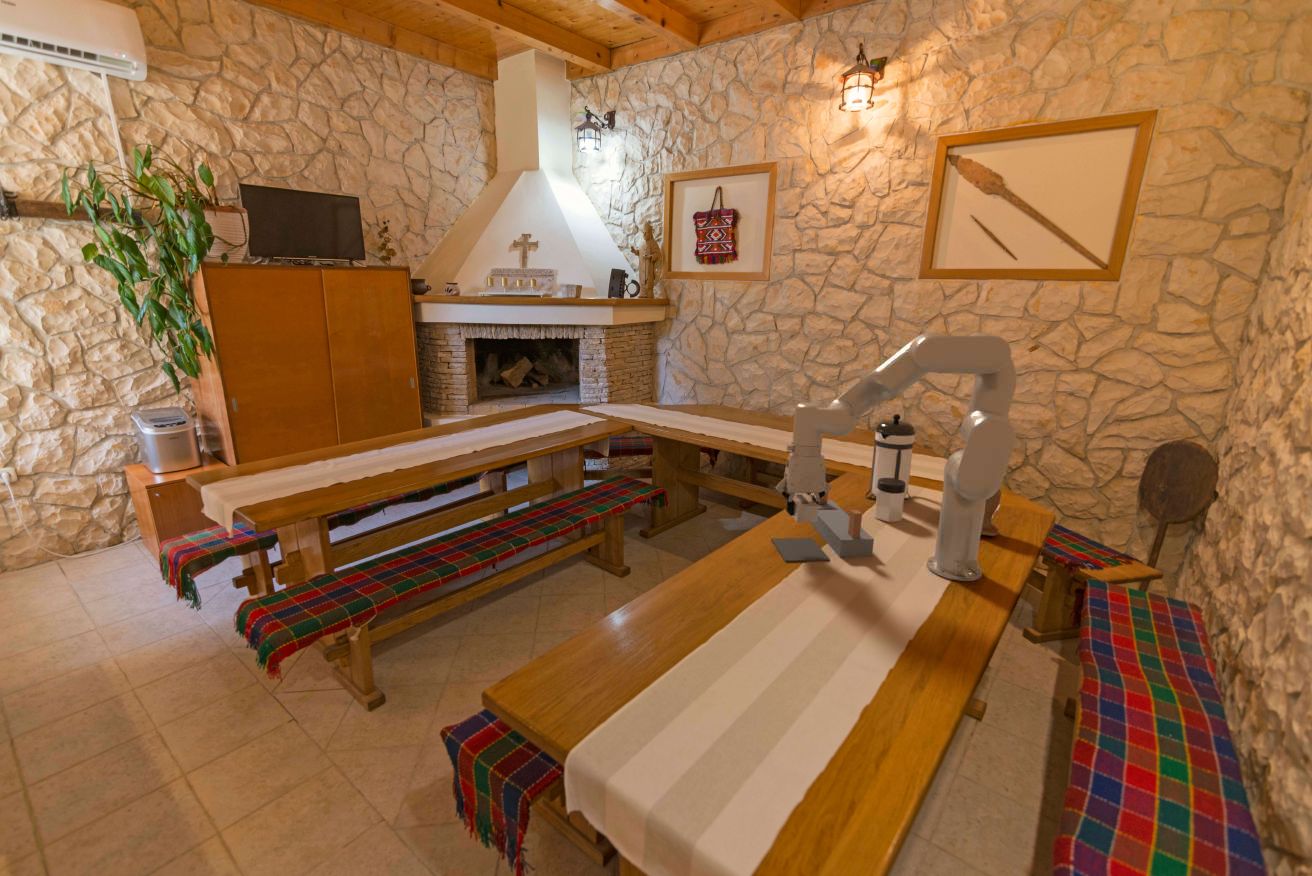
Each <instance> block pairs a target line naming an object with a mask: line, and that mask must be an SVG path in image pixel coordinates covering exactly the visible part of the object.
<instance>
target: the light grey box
mask: <svg viewBox="0 0 1312 876" xmlns="http://www.w3.org/2000/svg"><path fill="white" fill-rule="evenodd" d="M785 499H786V498H785ZM786 501H787V499H786ZM793 502H794V510H793V516H791V517H792V518H793V519H794V520H795V521H796V523H810V522H817V520H818V509H819V506H818V505H817V504H816V502H815V501H814V500H813V499H812V496H810V495H809V493H795V496H794V498H793Z"/></svg>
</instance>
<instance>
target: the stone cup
mask: <svg viewBox="0 0 1312 876" xmlns="http://www.w3.org/2000/svg"><path fill="white" fill-rule="evenodd" d="M1001 497H1002V491H1001V489H1000V488H999V489H998V491H997V492H996V493H995V494H994V495H993V496H992V497H990V498H989V499H986V504H985V512H984V517H983V524H982V530H981V535H982V536H991V537H994V536H995V537H996V536H997V535H999V529H998V528H997V526H995V525H994V524H993V523H992V518H993V515H994V513H995V512H996V511H997V509H998V507H999V504H1000V500H1001Z"/></svg>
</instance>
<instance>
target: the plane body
mask: <svg viewBox="0 0 1312 876" xmlns="http://www.w3.org/2000/svg"><path fill="white" fill-rule="evenodd" d="M828 496H829V491H828V492H827V493H825V495H824V496H823V497H822V498H821V499H820V501H819V502H818V506H819V509H818V520H817V522H809V524H811V526H812V527H813V528H814V529H815V531H816V532H817V533H818V534H819V535H820V536H821V538H822V539H823V540H824V541H825V542H826V543H827V545H829V547H830V548H831V549H832V550H833V551H834V552H835V554H836V555H837V556H838V557H839V558H856V557H858V558H859V557H861V558H863V557H873V551H874V541H875V540H874V539H875V538H873V537H872V536H871V535H870V534H869V533H868V532H867V531H866V530H864V529H863V528H862V518H863V517H862V516H863V513H862V512H861V511H860V510H859V509H850V511H849V515H848V513H846V511H844V510H843V509H842V508H841V507H840V506H839V505H838V504H837V503H836V502H835V501H834V500H832V499H828Z"/></svg>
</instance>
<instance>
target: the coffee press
mask: <svg viewBox="0 0 1312 876" xmlns="http://www.w3.org/2000/svg"><path fill="white" fill-rule="evenodd" d="M892 418H893V419H887V420H882V421H880V422H878V423H877V425H876V426H875V427H874V431H875V437H874V441H873V444H874V446H873V452H872V453H873V454H872V463H871V464H872V465H871V473H870V483H869V489H868V491H867V492H866V493H865V497H866V499H870V498H872V497H874V496H875V497H876V496H877V485H878V480H879V479H880V478H895V479H899V480H902V481H904V482H905V483H906V485H905V491H904V493H905V495H904V498H905V499H906V500H907V501H908V500H910V499H911V495H910V493H909V482H910V475H911V467H912V458H913V451H914V450H913V449H914V447H915V441H914V440H915V435H916V433H917V430H916V429H915V427H914V425H913V424H912V423H910V422H907V421H904V420H900V419H901V415H900V414H897V413H895V414H894V415H893V417H892ZM870 493H871V494H870ZM869 494H870V495H869ZM868 495H869V496H868ZM907 495H908V497H907Z"/></svg>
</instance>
